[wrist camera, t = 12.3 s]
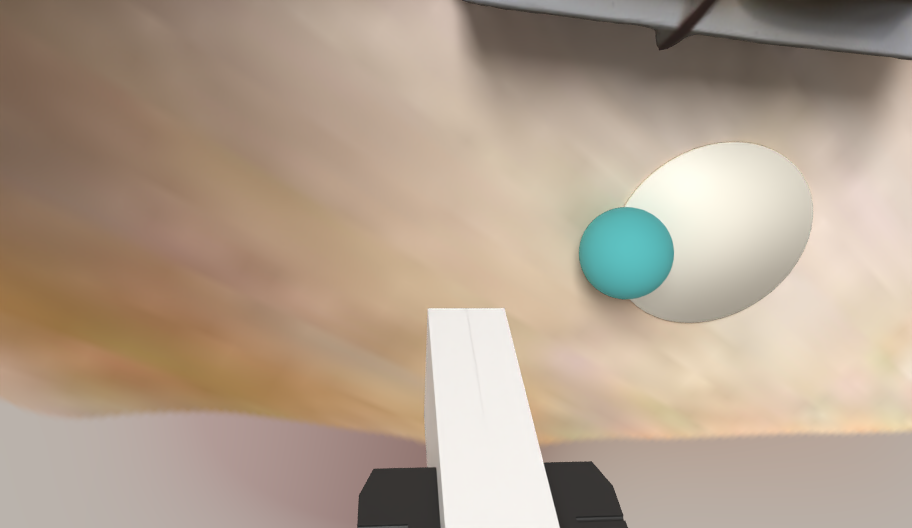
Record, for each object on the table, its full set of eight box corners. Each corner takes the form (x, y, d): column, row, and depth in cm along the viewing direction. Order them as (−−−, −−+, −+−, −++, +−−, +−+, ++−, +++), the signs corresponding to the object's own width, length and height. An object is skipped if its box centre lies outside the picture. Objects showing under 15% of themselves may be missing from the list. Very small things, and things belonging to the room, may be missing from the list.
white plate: (596, 321, 46) (597, 323, 46) (630, 139, 40) (631, 140, 40) (778, 320, 48) (779, 322, 47) (839, 143, 41) (841, 144, 41)
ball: (689, 305, 40) (644, 269, 45) (695, 217, 38) (647, 189, 42) (602, 322, 39) (565, 284, 44) (602, 232, 37) (564, 202, 41)
